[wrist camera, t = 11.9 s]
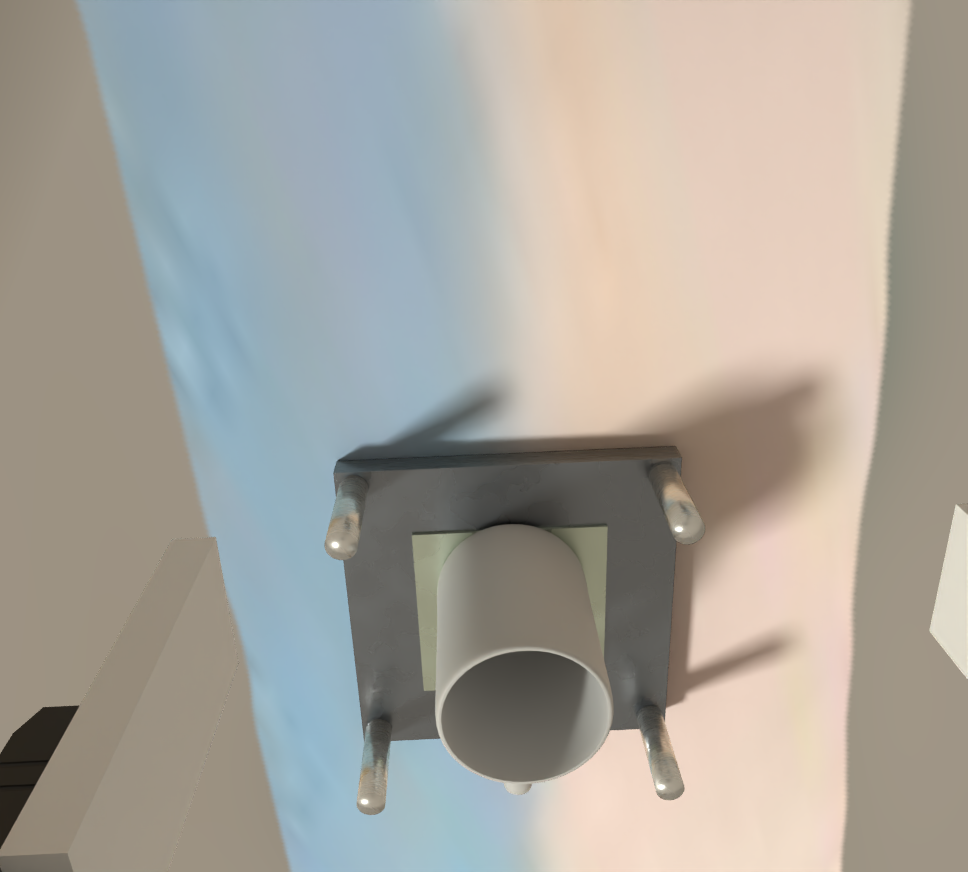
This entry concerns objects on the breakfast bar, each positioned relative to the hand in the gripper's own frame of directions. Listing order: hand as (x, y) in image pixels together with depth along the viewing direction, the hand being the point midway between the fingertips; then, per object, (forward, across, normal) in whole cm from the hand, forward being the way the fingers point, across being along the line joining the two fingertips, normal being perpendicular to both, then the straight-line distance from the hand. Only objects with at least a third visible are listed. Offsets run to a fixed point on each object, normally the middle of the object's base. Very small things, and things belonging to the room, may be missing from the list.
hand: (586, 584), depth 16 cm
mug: (+30, 0, -22) cm, 37 cm away
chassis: (+32, 0, -22) cm, 39 cm away
